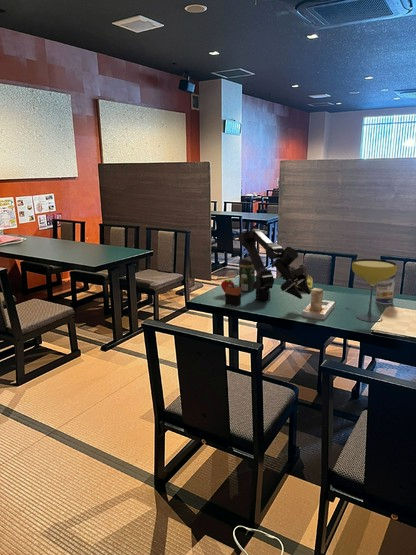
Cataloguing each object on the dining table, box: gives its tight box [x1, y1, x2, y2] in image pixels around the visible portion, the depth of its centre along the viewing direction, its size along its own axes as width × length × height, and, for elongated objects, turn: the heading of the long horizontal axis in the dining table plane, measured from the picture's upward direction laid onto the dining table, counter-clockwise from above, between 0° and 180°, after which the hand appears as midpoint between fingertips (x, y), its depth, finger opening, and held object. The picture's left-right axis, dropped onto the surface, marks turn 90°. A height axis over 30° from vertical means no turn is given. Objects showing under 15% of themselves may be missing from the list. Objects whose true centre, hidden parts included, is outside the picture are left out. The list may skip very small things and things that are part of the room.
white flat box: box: [301, 299, 336, 321], centre depth 190 cm, size 10×21×3 cm, turn 151°
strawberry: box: [220, 278, 235, 293], centre depth 216 cm, size 6×8×10 cm
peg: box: [310, 287, 324, 312], centre depth 184 cm, size 4×4×12 cm
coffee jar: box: [238, 256, 256, 293], centre depth 225 cm, size 10×8×19 cm
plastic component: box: [294, 274, 314, 291], centre depth 231 cm, size 20×7×10 cm
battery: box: [224, 284, 242, 307], centre depth 200 cm, size 4×7×10 cm, turn 59°
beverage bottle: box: [374, 274, 396, 305], centre depth 201 cm, size 8×8×20 cm
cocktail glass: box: [351, 258, 398, 323], centre depth 178 cm, size 18×18×25 cm
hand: (305, 296), depth 187 cm, fingers open, 9 cm apart
